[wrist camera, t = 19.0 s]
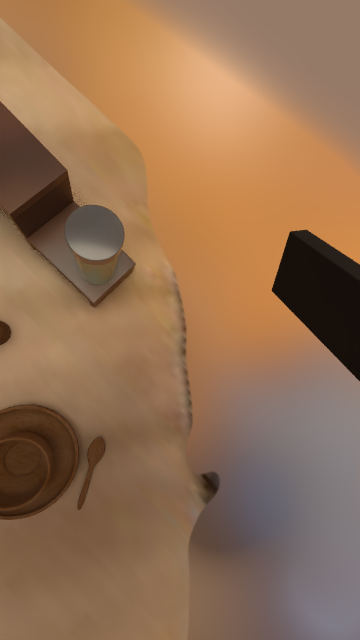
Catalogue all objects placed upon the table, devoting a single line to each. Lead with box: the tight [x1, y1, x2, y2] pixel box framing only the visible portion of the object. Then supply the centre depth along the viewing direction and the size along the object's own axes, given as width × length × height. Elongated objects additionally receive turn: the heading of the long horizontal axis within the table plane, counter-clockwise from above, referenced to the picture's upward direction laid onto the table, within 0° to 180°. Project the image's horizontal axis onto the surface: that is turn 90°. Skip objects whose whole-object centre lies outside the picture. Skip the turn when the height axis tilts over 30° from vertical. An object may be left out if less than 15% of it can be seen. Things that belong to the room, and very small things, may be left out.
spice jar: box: [64, 205, 124, 285], centre depth 28 cm, size 5×5×10 cm
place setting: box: [0, 321, 105, 520], centre depth 31 cm, size 18×20×6 cm
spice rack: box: [0, 102, 135, 307], centre depth 31 cm, size 19×7×11 cm, turn 46°
